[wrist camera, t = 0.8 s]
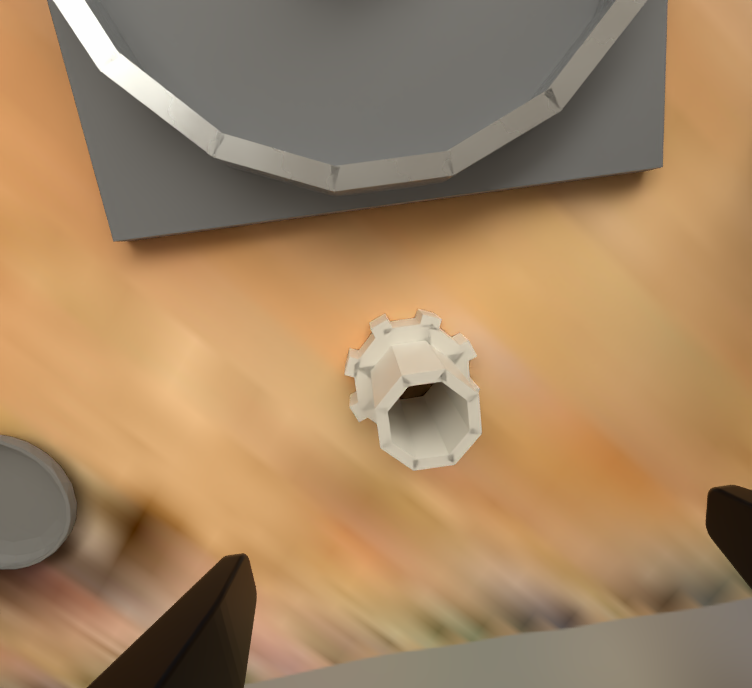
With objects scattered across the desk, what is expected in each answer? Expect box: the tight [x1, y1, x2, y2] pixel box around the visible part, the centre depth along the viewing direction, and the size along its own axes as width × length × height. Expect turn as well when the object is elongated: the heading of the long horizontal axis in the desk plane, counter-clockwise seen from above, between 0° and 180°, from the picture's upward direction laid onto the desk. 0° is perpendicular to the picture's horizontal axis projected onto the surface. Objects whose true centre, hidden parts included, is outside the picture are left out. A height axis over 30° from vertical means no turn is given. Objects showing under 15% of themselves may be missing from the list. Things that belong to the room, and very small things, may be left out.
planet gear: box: [344, 309, 482, 471], centre depth 16 cm, size 6×6×6 cm
